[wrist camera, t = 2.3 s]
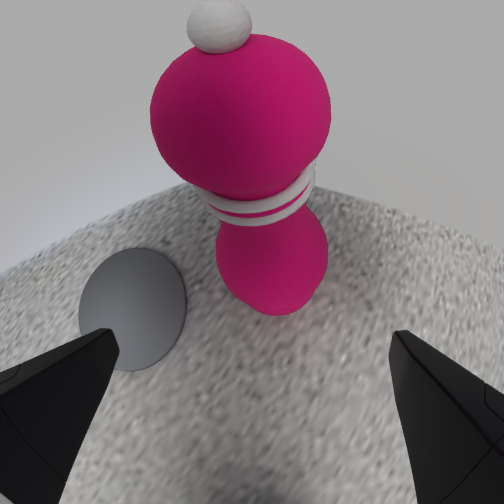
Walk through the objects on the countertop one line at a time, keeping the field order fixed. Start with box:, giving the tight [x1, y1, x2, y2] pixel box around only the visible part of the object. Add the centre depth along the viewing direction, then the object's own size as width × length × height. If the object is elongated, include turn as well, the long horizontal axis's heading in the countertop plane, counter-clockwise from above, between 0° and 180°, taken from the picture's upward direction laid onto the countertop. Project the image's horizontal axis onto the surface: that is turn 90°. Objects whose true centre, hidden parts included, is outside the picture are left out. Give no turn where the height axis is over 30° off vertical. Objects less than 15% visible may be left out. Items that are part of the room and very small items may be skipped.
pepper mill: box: [150, 0, 331, 316], centre depth 14 cm, size 7×7×20 cm
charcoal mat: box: [78, 248, 187, 371], centre depth 24 cm, size 11×11×1 cm
